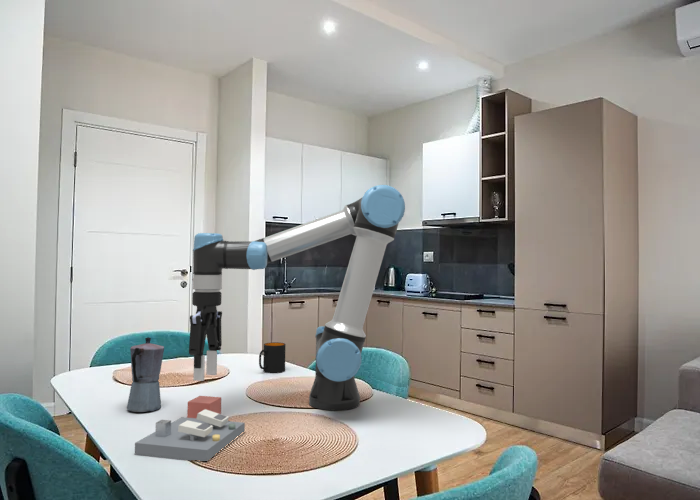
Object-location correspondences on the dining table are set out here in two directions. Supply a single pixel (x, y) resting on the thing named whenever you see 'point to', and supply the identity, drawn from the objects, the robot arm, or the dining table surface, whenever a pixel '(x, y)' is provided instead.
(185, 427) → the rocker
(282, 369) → the mug
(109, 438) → the dining table surface
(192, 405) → the cap
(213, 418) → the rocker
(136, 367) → the moka pot
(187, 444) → the panel
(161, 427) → the post
